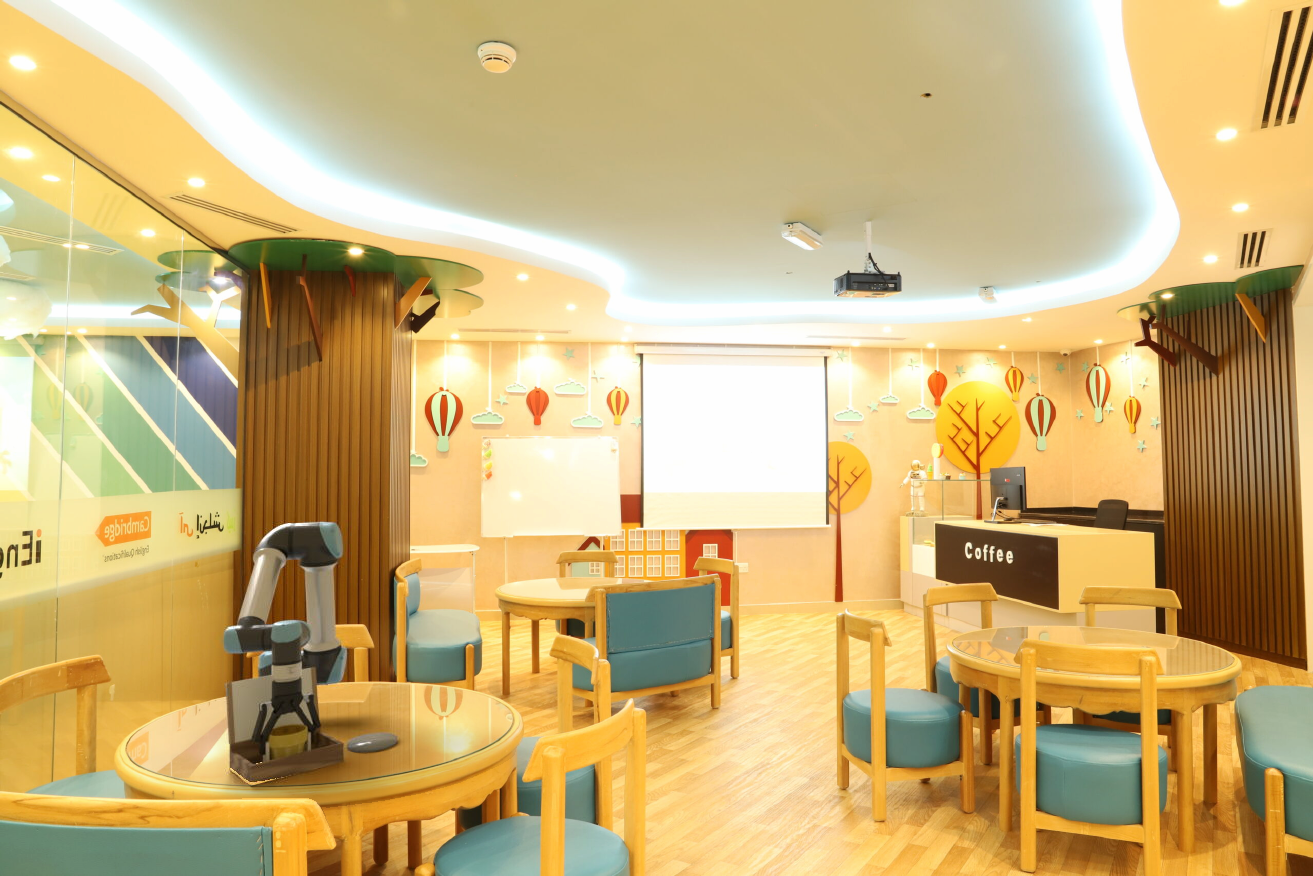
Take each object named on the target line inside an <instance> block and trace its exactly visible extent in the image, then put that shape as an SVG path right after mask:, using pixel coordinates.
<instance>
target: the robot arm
mask: <svg viewBox="0 0 1313 876" xmlns="http://www.w3.org/2000/svg"><path fill="white" fill-rule="evenodd" d="M342 536H343V535H342V532H341V530H340V527H339V525H338V524H337V523H336V522H332V521H331V522H330V521H329V522H328V521H327V522H326V521H316V522H315V521H313V522H295V523H293V522H291V523H284V524H281V525H279V526H276V527H274V528H273V529H271V530H270V531H269V532H268V533H267V534H266V535H265V536H264V537H262V539H261V540H260V541H259V543H258V545H257V546H256V548H255V550H254V553H253V556H252V561H253V563H254V565H253V569H252V572H251V574H250V579H249V581H248V585H247V589H246V593H245V596H244V600H243V602H242V606H241V608H240V612H239V616H238V620H237V624H236V625H233V626H228V627H227V628H226V629H225V630H224V633H223V639H222V642H223V643H222V644H223V649H224V651H225V652H226V653H227V654H245V653H248V654H249V653H260V652H262V653H261V654H260V655H259V656H258V667H257V669H258V671H257V672H258V677H263V676H268V675H272V679H273V682H272V699H271V701H270V702H266V703H263V702H261V703H260V704H259V715H258V718H257V721H256V725H255V728H254V731H253V735H252V738H251V739H252V740H253V741H254V742H259V753H260V755H263V762H265V761H269V742H267V739H268V737H269V735H270V733H271V731H272V730H273V728H274V726H275V724H276V722H277V720H278V719H279V718H280V716H281V714H282V715H284V714H287V713H294V712H295V713H296V714H297V715H298V717H299V718H300V720H301V721H302V723H303V724H304V725H306V726H307V728H308V737H307V740H306V741H305V744H304V752H305V751H309V750H311V743H313V742H314V732H315V731H316V729H317V728H320V729H321V727H322V723H321V720H320V716H319V717H318V714H317V711H316V708H315V705H314V695H313V694H311V693H307V694H305V695H302V679H301V678H300V676H301V675H302V669H307V668H312V667H316V681H317V686H328V685H333V684H338V683H340V682H341V681H342V680H343V678H344V674H345V670H346V664H347V659H348V658H347V657H348V656H347V655H348V651H347V649H348V648H347V647H345V646H342V641H341V640H340V639H339V638H338V637H337V636H336V635H337V631H336V629H337V628H336V607H335V606H336V603H335V601H336V600H335V579H334V578H335V577H334V567H335V566H336V565H337V564H338V563H339V558H342V557H343V556H344V555H343V554H344V544H343V543H344V542H343V537H342ZM289 560H298V562H299V567H300V568H302V569H303V570H304V580H305V582H304V583H305V602H306V604H305V605H306V621H303V620H297V619H293V620H292V619H289V620H281V621H276V622H274V623H271V624H270V623H269V624H267V621H268V618H269V615H270V614H269V613H270V609H271V607H272V606H271V605H272V603H273V599H274V595H275V593H276V591H275V590H276V588H277V584H278V580H279V577H280V576H279V575H280V572H281V569H283V567H285V566H286V563H287V561H289ZM303 699H304V701H305V702H306V704H307V707H308V710H309V713H310V716H311V719H312V722H313V724H311V722H310V721H309V720H308V718H307V717H306V715H305V714H304V712H303V710H302V709H301V707H300V706H299V705H300V704H301V702H302V700H303ZM270 706H272V707H273V708H274V710H273V711H272V713H271V717H270V719H269V720H268V722H267V724H266V726H265V728H264V730H263V732H262V729H263V726H264V722H265V719H266V715H267V711H268V710H269V707H270ZM261 732H262V733H261Z"/></svg>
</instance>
